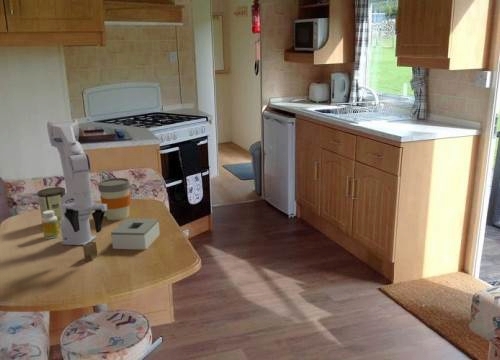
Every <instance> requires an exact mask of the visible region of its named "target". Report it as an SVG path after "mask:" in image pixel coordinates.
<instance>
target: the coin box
mask: <svg viewBox="0 0 500 360" xmlns="http://www.w3.org/2000/svg"><path fill="white" fill-rule="evenodd" d="M159 223H160V221H159V218H126V219H124V221H123V222H121V224H120V225H118V226H117V227H115V228H114V229H113V230H112V231H111V232H110V234H111V243H112V249H113V250H115V249H116V250H147V249H148V248H149V247H150V246H151V245H152V244H153V243H154V241H156V240H157V238H158V237H159V236H160V233H161V232H160V224H159Z"/></svg>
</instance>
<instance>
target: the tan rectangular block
mask: <svg viewBox="0 0 500 360" xmlns="http://www.w3.org/2000/svg"><path fill="white" fill-rule="evenodd" d="M82 250H83V257H84V261H86V262H87V261H89V262H92V261H93V260H94V259H96V258H97V257H98V247H97V242H96V241H91V242H88V243H87V244H85V245H82Z"/></svg>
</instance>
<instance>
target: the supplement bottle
mask: <svg viewBox="0 0 500 360" xmlns="http://www.w3.org/2000/svg"><path fill="white" fill-rule="evenodd" d="M54 215H55V214H54V211H53V210H48V211H44V212H43V217H44V218H42V217H41V224H42V231H43V238H44V239H48V240H49V239H51V240H52V239H56V238H58V237H59V236H60V235H61V233H60V227H59V226H58V220H57V217H56V216H54Z"/></svg>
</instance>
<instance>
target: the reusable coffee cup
mask: <svg viewBox="0 0 500 360" xmlns="http://www.w3.org/2000/svg"><path fill="white" fill-rule="evenodd" d="M130 188H131V185H130V179H128V178H125V177H124V178H123V177H115V178H106V179H103V180H101V181H99V182H98V191H99V193H100V197H99V198H100V201H101V202H100V203H101V204H107V210H106V212H105V216H106V219H107V220H109V221H121V220H123V219H124V220H125V219H128V217H129V216H130V205H131V192H130Z"/></svg>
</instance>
